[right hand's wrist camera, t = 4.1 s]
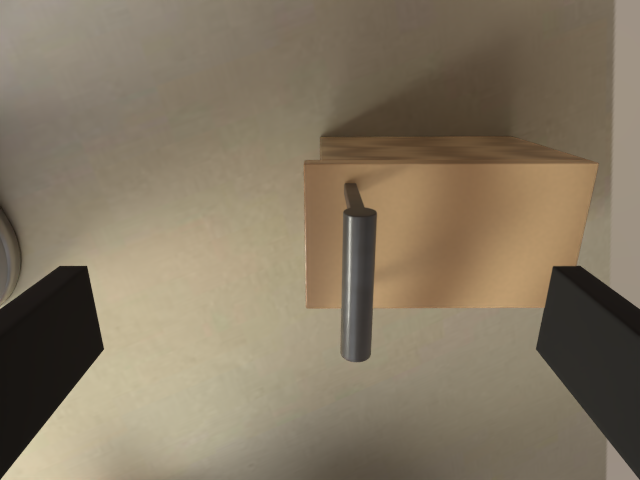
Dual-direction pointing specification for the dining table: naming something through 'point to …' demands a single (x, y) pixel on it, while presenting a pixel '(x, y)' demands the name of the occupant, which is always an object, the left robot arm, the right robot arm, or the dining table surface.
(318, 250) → the lid
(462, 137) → the chest
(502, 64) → the dining table surface
